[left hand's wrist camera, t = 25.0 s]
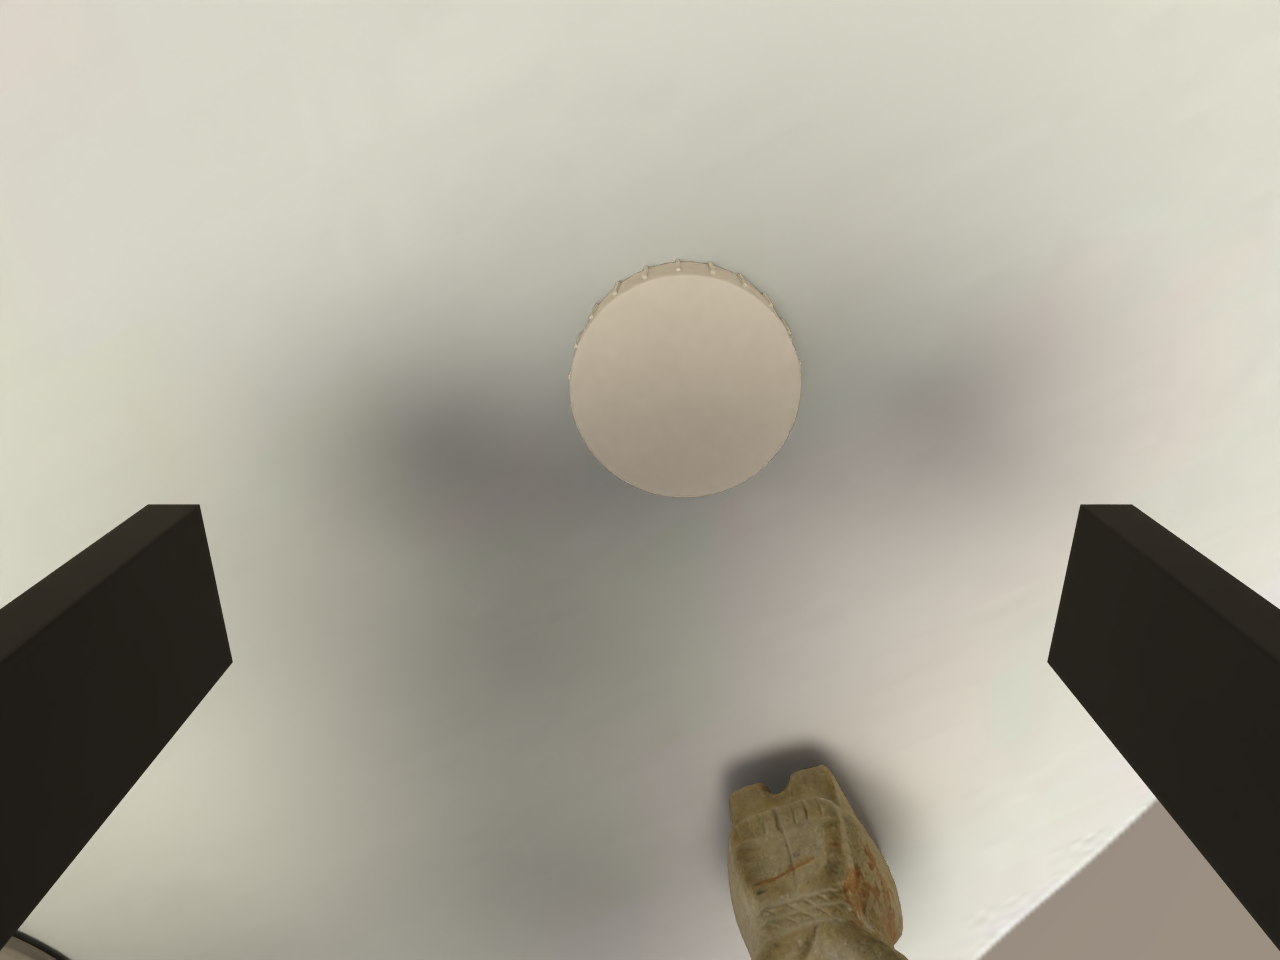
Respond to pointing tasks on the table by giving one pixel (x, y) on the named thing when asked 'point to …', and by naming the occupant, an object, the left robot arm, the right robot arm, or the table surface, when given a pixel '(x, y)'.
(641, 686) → the table surface
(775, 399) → the lid
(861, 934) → the sculpture
